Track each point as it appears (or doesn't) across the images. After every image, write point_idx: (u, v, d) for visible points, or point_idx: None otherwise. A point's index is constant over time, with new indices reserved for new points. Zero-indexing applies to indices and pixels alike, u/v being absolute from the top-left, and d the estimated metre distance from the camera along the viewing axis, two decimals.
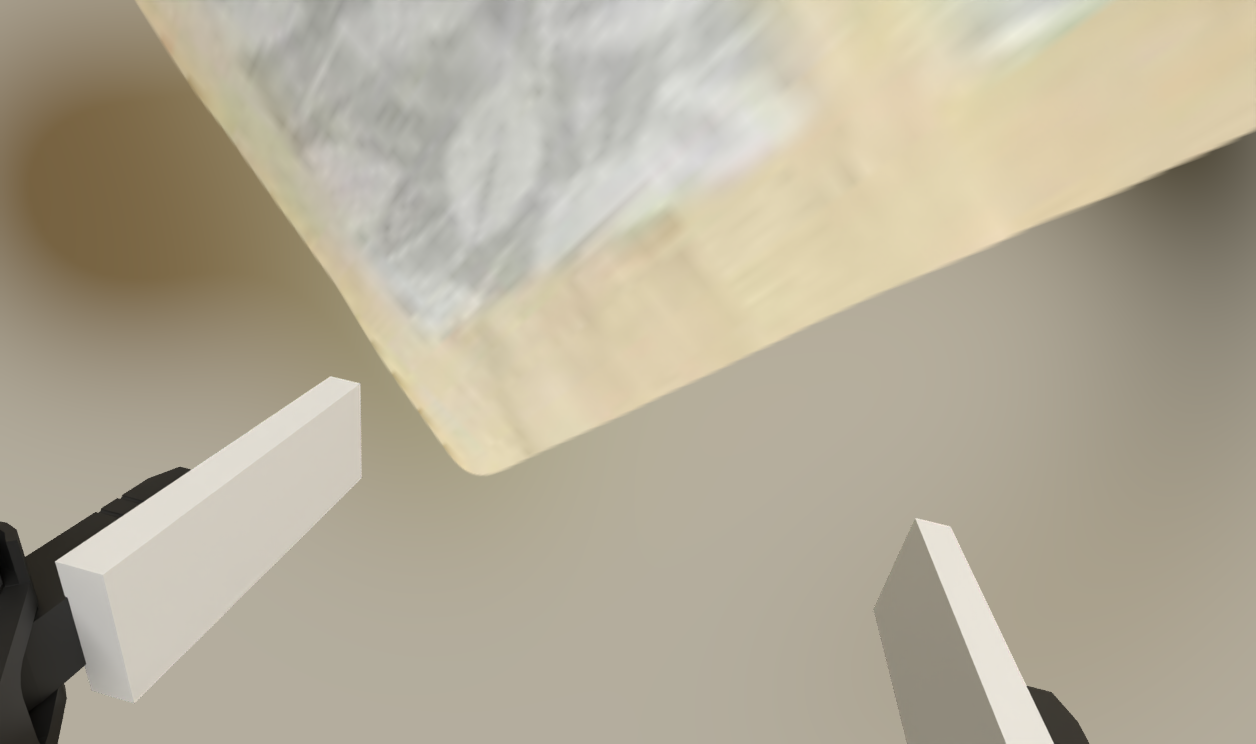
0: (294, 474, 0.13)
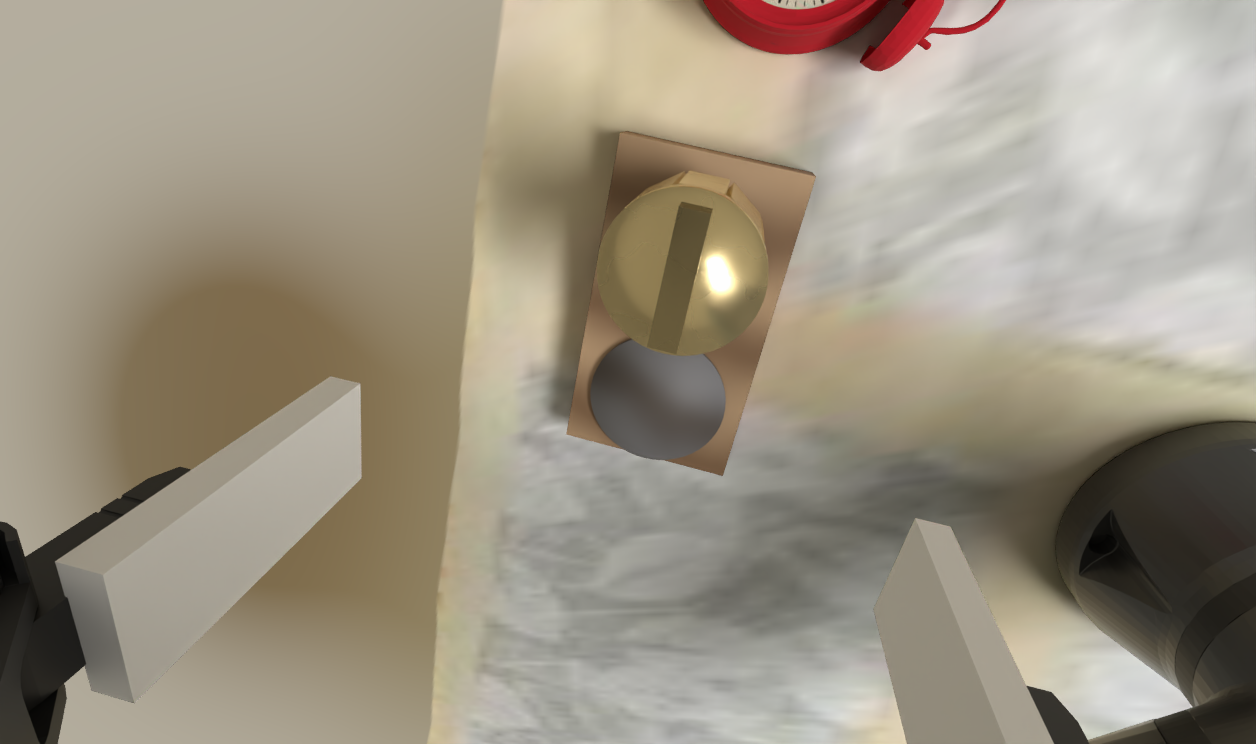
0: (294, 474, 0.13)
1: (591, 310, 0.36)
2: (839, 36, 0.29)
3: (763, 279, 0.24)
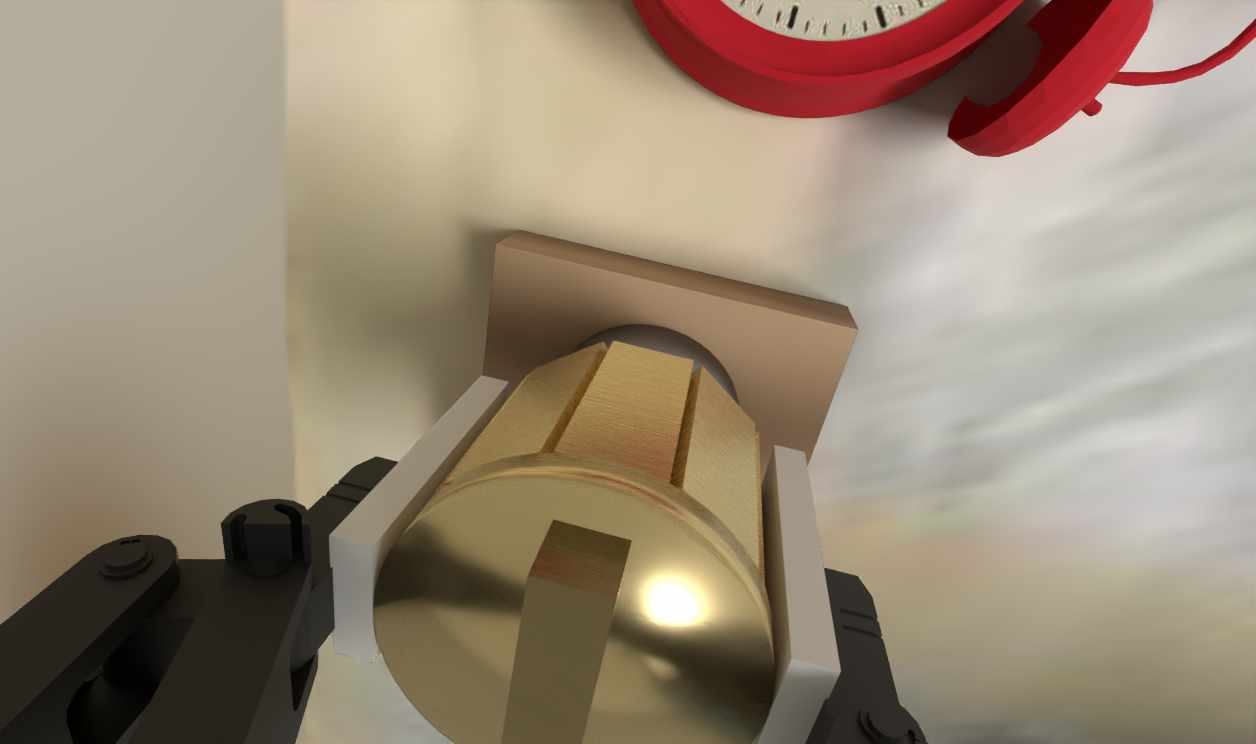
0: None
1: None
2: (906, 87, 0.15)
3: (762, 688, 0.10)
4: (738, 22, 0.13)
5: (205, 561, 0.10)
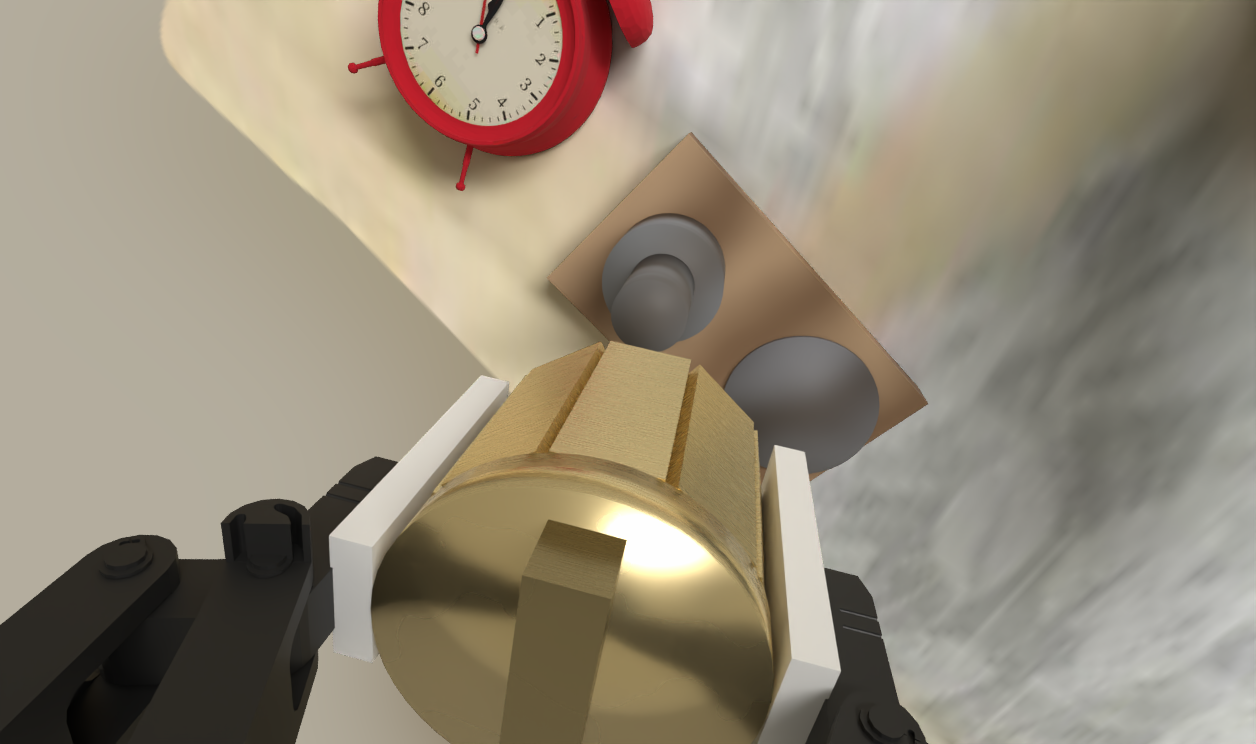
0: None
1: None
2: (604, 54, 0.29)
3: (761, 687, 0.10)
4: (523, 119, 0.28)
5: (205, 561, 0.10)
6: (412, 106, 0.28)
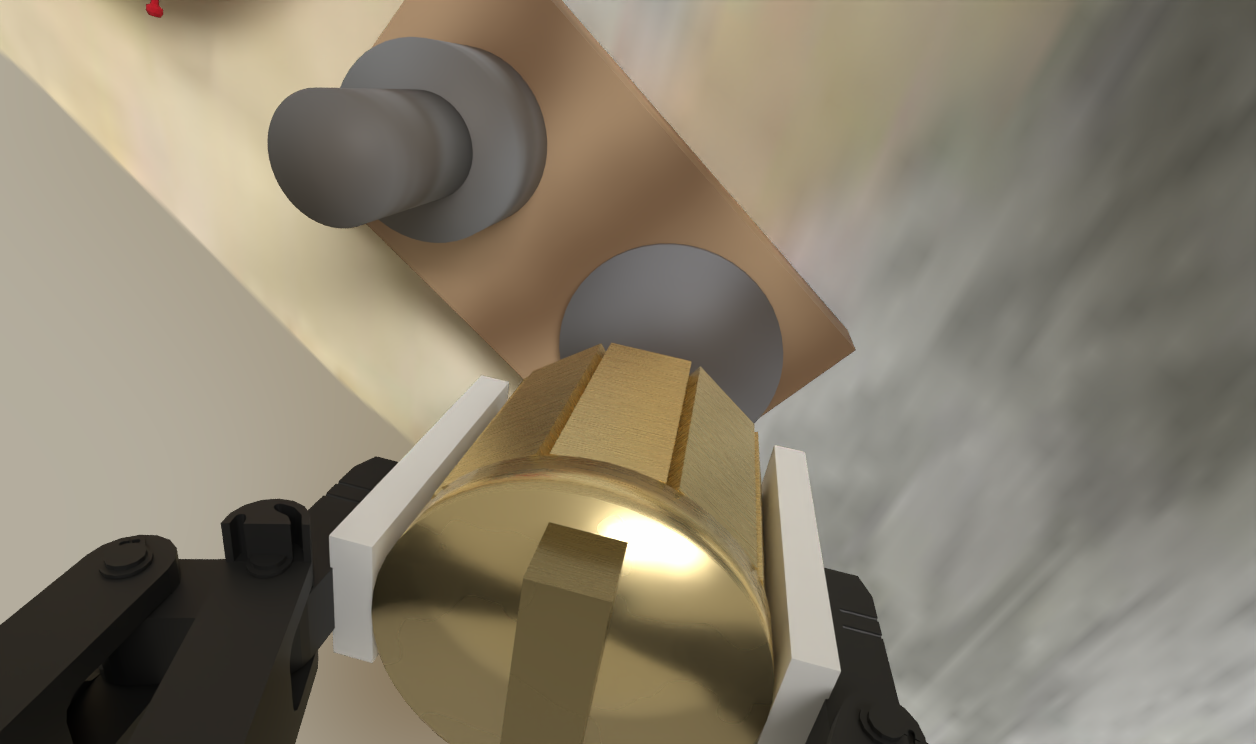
0: None
1: (497, 347, 0.24)
2: None
3: (761, 690, 0.10)
4: None
5: (205, 561, 0.10)
6: None
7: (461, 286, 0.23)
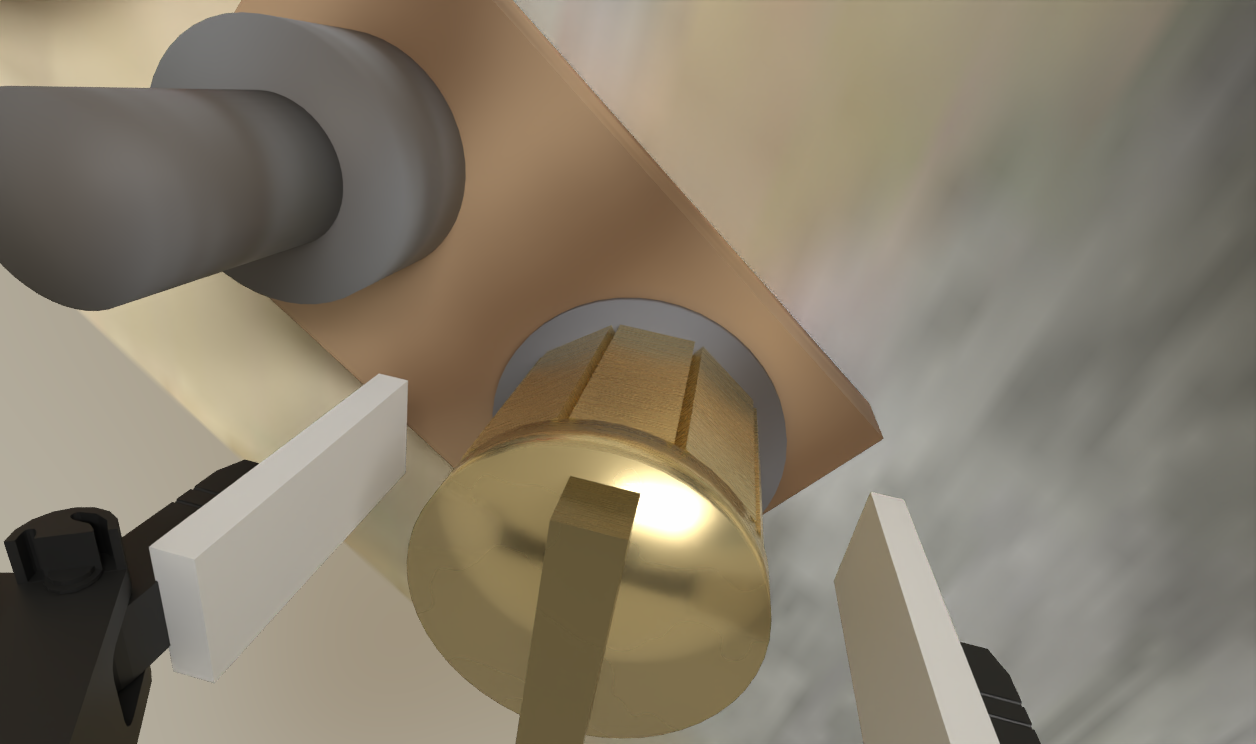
0: (351, 467, 0.13)
1: (415, 425, 0.18)
2: None
3: (759, 629, 0.11)
4: None
5: (12, 575, 0.09)
6: None
7: (364, 348, 0.17)
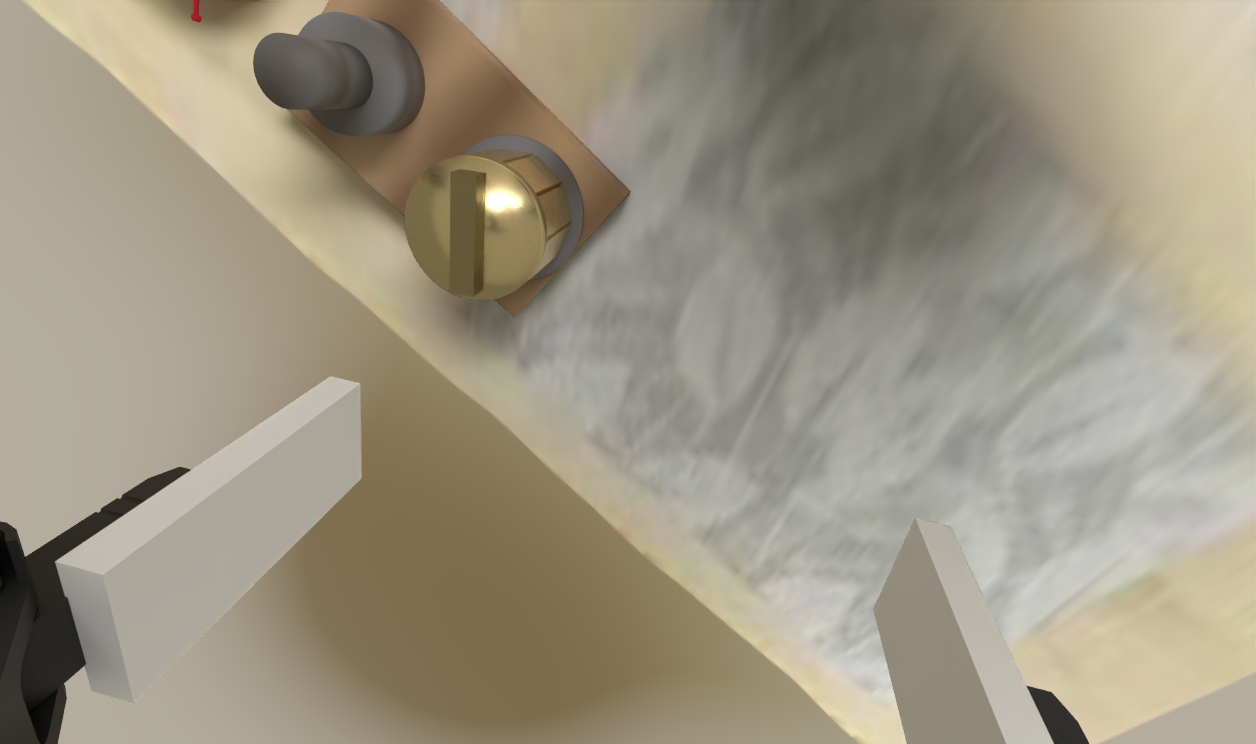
0: (294, 474, 0.13)
1: None
2: None
3: (537, 228, 0.29)
4: None
5: None
6: None
7: (382, 176, 0.36)
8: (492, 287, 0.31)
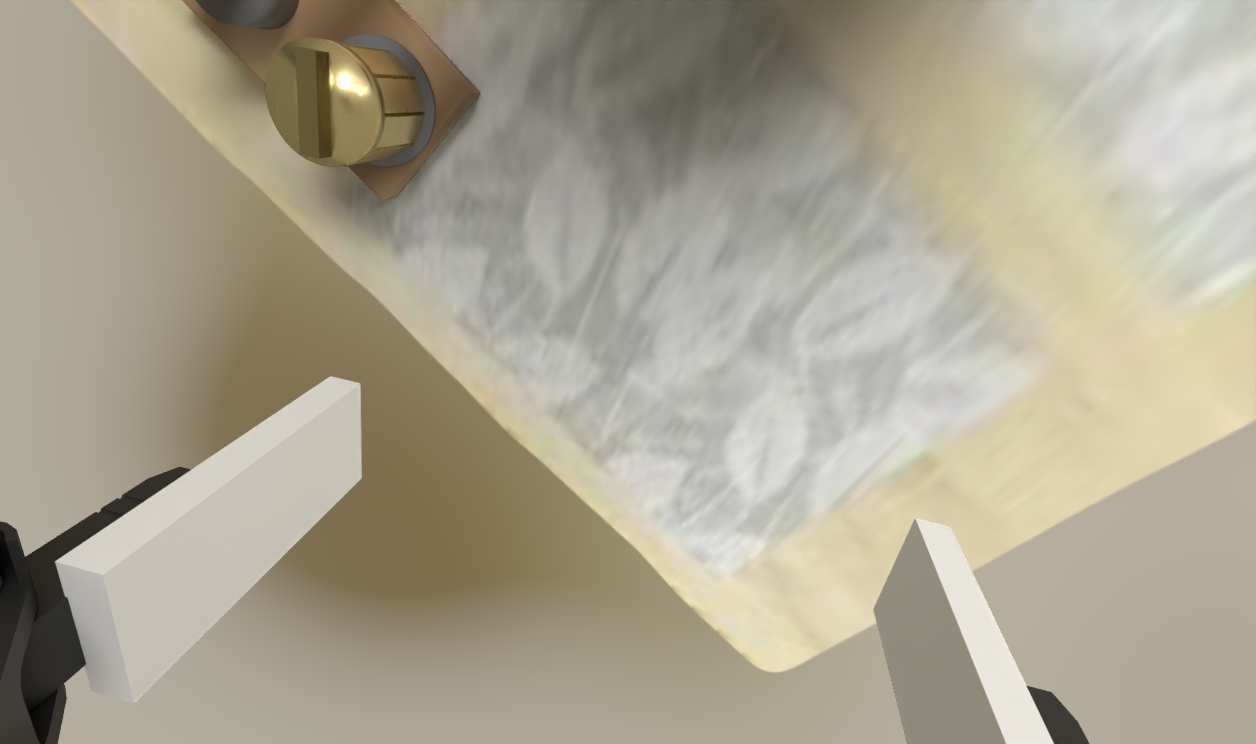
0: (294, 474, 0.13)
1: None
2: None
3: (372, 103, 0.35)
4: None
5: None
6: None
7: (267, 68, 0.42)
8: (339, 154, 0.37)
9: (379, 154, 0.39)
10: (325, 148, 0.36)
